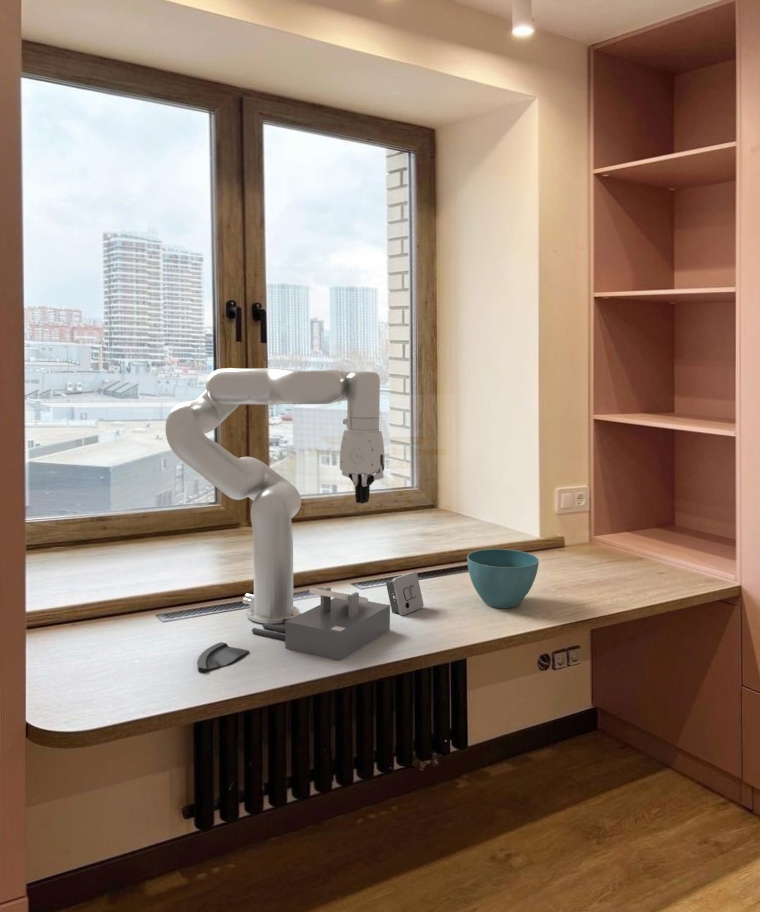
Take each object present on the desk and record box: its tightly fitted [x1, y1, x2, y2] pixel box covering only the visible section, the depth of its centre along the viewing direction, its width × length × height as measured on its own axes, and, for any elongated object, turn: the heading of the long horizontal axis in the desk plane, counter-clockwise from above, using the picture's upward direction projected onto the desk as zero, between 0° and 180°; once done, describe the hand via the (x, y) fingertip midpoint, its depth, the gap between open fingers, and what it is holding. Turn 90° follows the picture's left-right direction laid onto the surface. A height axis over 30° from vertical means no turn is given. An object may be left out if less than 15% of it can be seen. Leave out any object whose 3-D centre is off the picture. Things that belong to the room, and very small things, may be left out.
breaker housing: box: [284, 586, 391, 661], centre depth 183 cm, size 14×22×11 cm, turn 151°
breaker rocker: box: [308, 587, 369, 604], centre depth 183 cm, size 6×16×1 cm, turn 151°
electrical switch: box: [385, 571, 424, 616], centre depth 205 cm, size 9×5×9 cm, turn 141°
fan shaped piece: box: [196, 641, 250, 674], centre depth 170 cm, size 8×14×2 cm, turn 156°
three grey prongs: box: [251, 619, 289, 641], centre depth 188 cm, size 12×10×1 cm
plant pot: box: [466, 548, 540, 609], centre depth 211 cm, size 18×18×12 cm
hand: (362, 502), depth 192 cm, fingers closed
